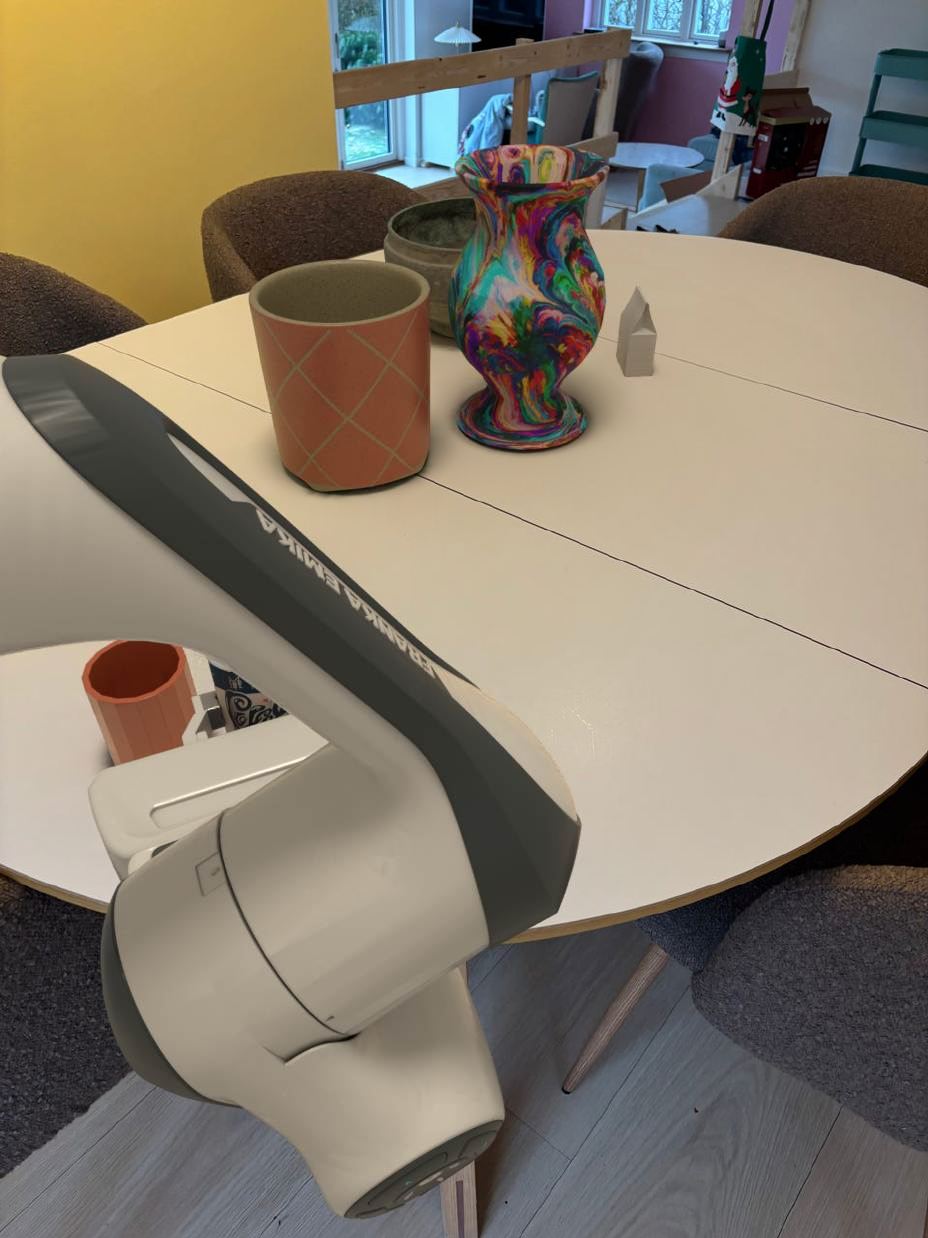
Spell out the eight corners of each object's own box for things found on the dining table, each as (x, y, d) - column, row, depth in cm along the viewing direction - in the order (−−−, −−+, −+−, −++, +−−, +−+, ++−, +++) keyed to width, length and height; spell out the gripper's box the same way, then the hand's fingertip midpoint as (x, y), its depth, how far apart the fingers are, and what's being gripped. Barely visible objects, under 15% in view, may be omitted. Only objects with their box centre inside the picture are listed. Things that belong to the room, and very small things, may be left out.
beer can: (259, 808, 57) (227, 670, 49) (221, 764, 59) (185, 627, 52) (322, 769, 59) (301, 632, 51) (283, 729, 62) (257, 593, 54)
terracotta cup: (125, 797, 68) (92, 716, 62) (105, 734, 73) (73, 653, 67) (220, 761, 71) (197, 680, 65) (194, 703, 76) (171, 622, 70)
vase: (584, 464, 105) (610, 191, 86) (434, 447, 108) (425, 181, 89) (601, 394, 119) (626, 145, 99) (467, 381, 122) (466, 137, 102)
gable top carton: (624, 376, 123) (633, 304, 116) (616, 355, 128) (623, 285, 122) (651, 375, 123) (661, 303, 116) (641, 354, 128) (650, 284, 122)
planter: (458, 480, 103) (455, 308, 90) (294, 513, 98) (267, 337, 85) (407, 407, 116) (399, 250, 103) (262, 433, 111) (234, 271, 98)
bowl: (385, 286, 149) (378, 190, 140) (539, 279, 151) (543, 184, 141) (392, 370, 125) (385, 260, 115) (576, 361, 127) (585, 252, 117)
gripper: (500, 758, 47) (407, 605, 57) (95, 895, 41) (68, 697, 50) (497, 831, 51) (411, 677, 61) (128, 966, 45) (98, 770, 54)
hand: (253, 687), depth 55 cm, fingers closed on beer can, 5 cm apart
